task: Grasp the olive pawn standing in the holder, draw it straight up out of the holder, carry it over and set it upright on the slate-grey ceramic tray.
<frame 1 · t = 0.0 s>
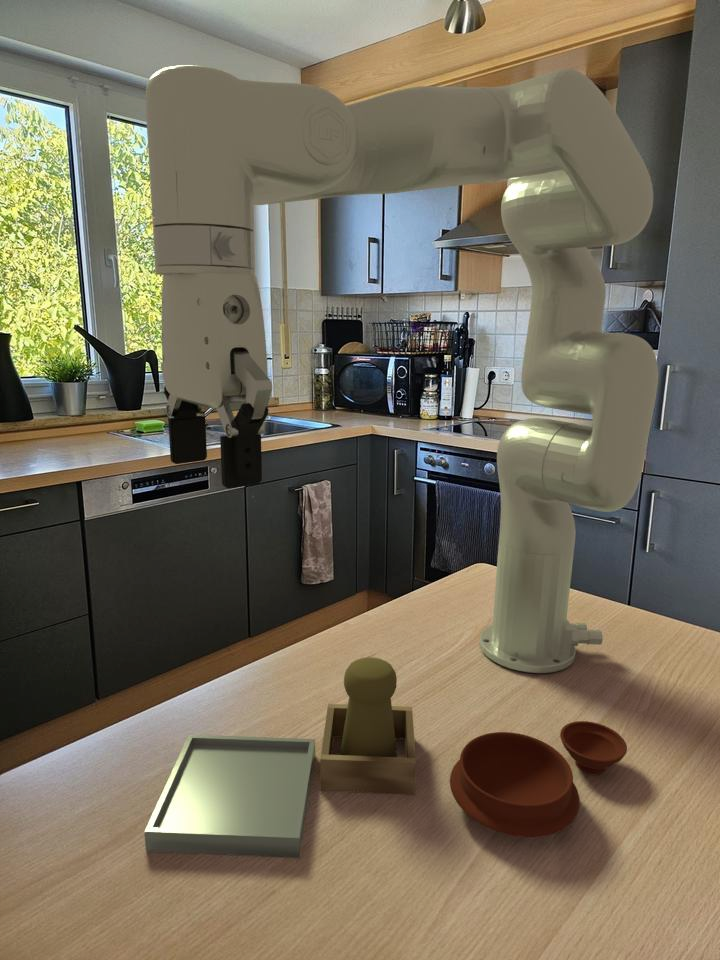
hand: (213, 472, 55), 31 cm above the table, tool pointing down, fingers open, 9 cm apart
holder: (368, 761, 67), on the table
pottery: (542, 791, 64), on the table
olive pawn: (368, 763, 67), resting in holder
tray: (238, 798, 62), on the table
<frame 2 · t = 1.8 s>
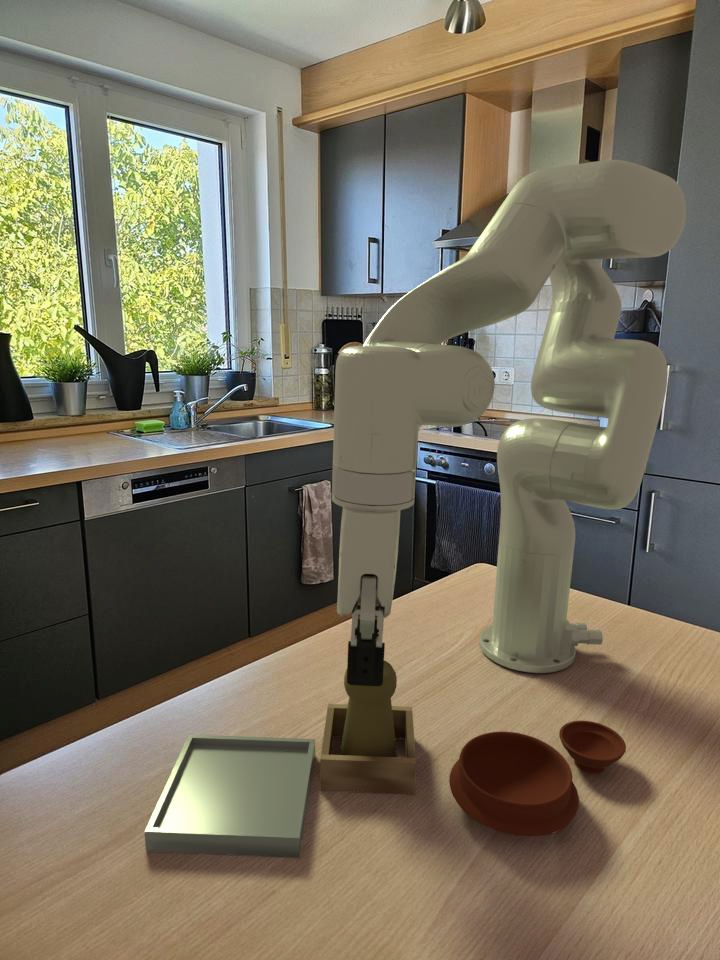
hand: (366, 657, 64), 12 cm above the table, tool pointing down, fingers open, 9 cm apart
nothing on the table moved.
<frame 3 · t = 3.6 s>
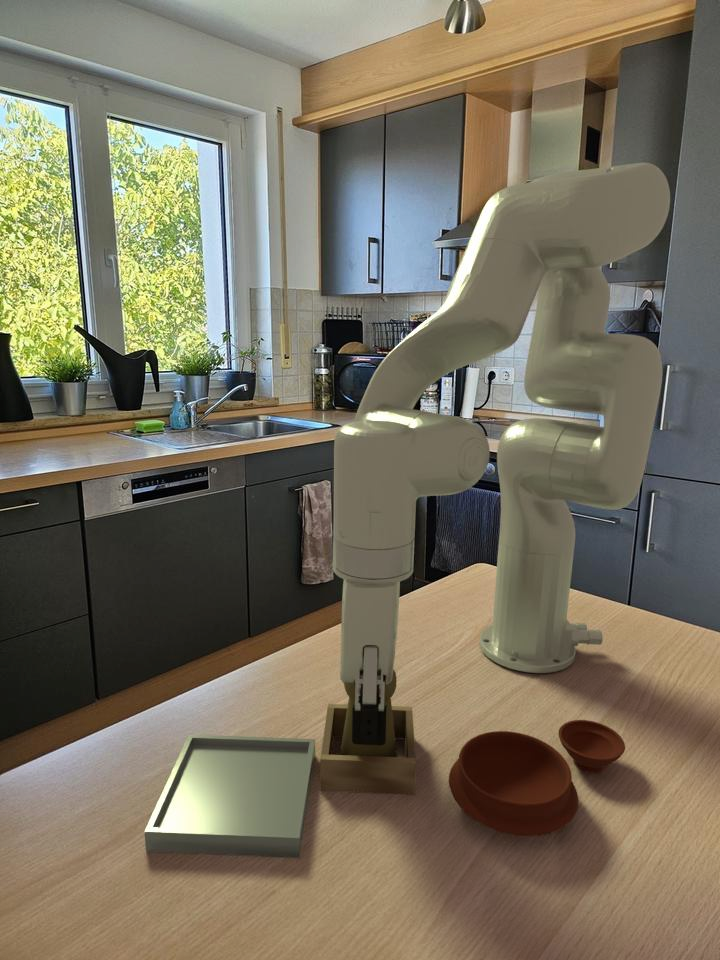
hand: (369, 723, 66), 4 cm above the table, tool pointing down, fingers closed on olive pawn, 4 cm apart
olive pawn: (368, 763, 67), resting in holder, touching gripper
everything else where it was.
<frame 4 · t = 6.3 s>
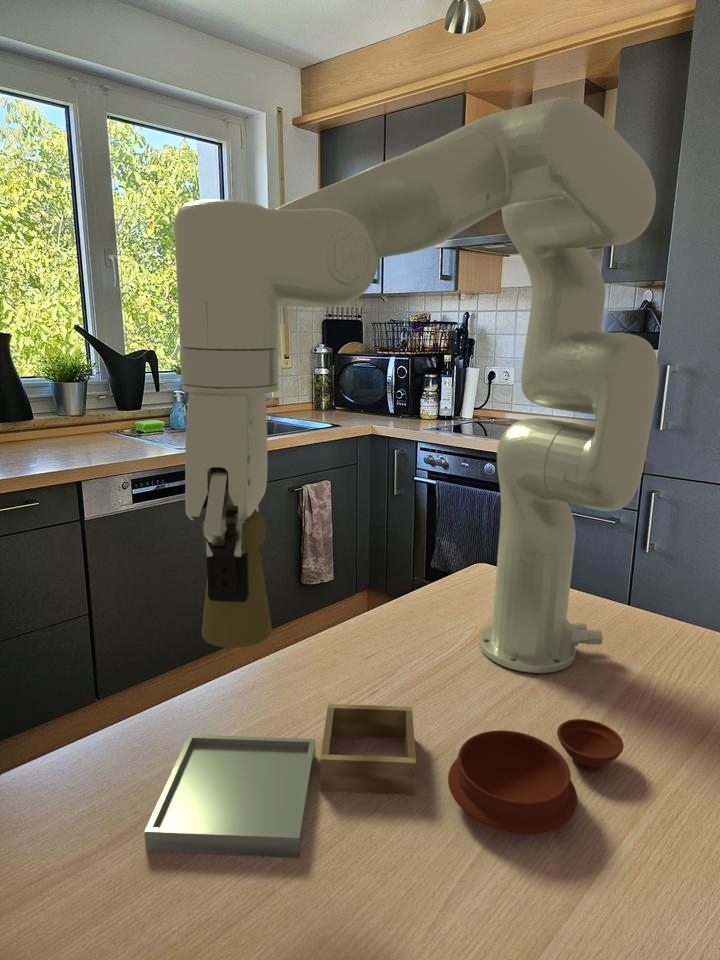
hand: (236, 583, 56), 22 cm above the table, tool pointing down, fingers closed on olive pawn, 4 cm apart
olive pawn: (237, 633, 58), point 17 cm above the table, touching gripper
everything else where it was.
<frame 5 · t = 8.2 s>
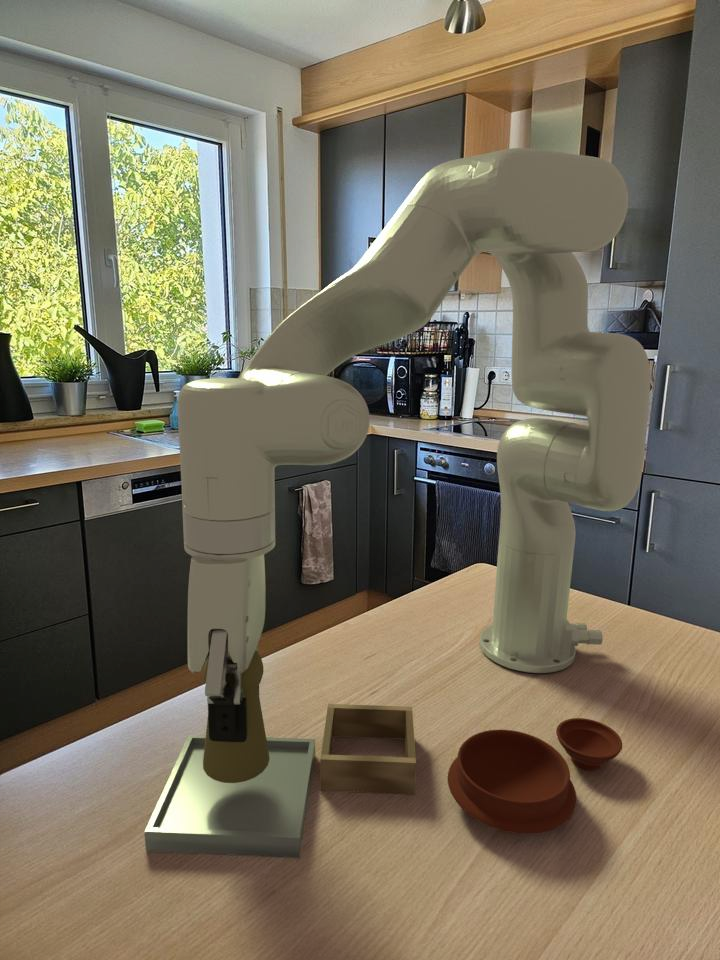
hand: (235, 718, 60), 9 cm above the table, tool pointing down, fingers closed on olive pawn, 4 cm apart
olive pawn: (236, 762, 61), point 4 cm above the table, touching gripper
everything else where it was.
when the fingers open (6 cm above the table, at t = 9.4 s): olive pawn stays where it is, resting on tray.
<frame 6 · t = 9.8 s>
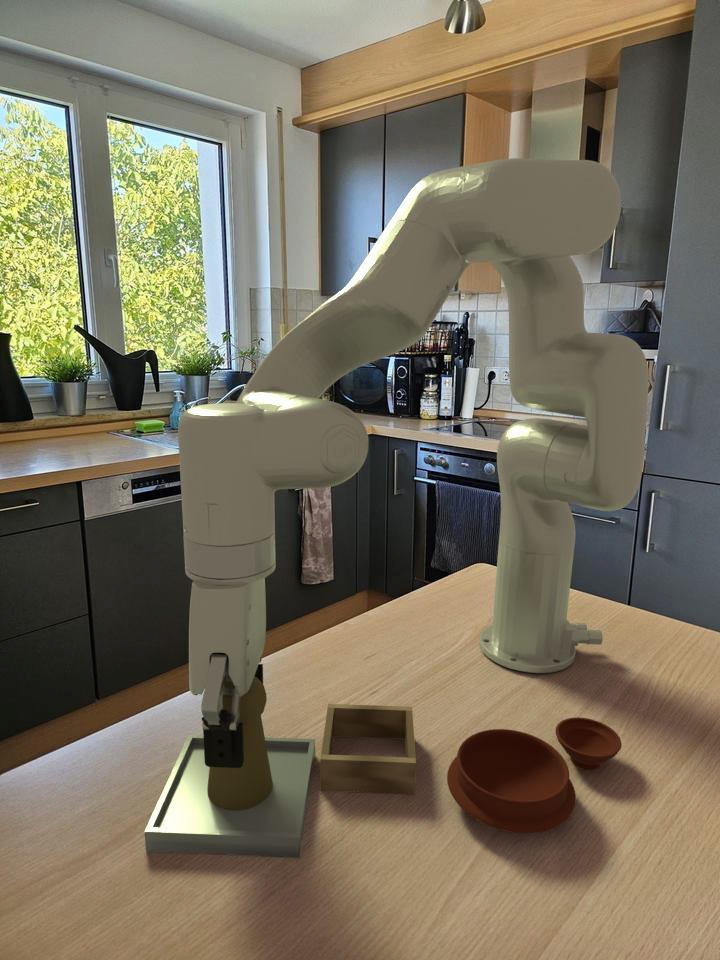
hand: (236, 730, 60), 7 cm above the table, tool pointing down, fingers open, 8 cm apart
olive pawn: (240, 788, 62), point 1 cm above the table, touching tray
everything else where it was.
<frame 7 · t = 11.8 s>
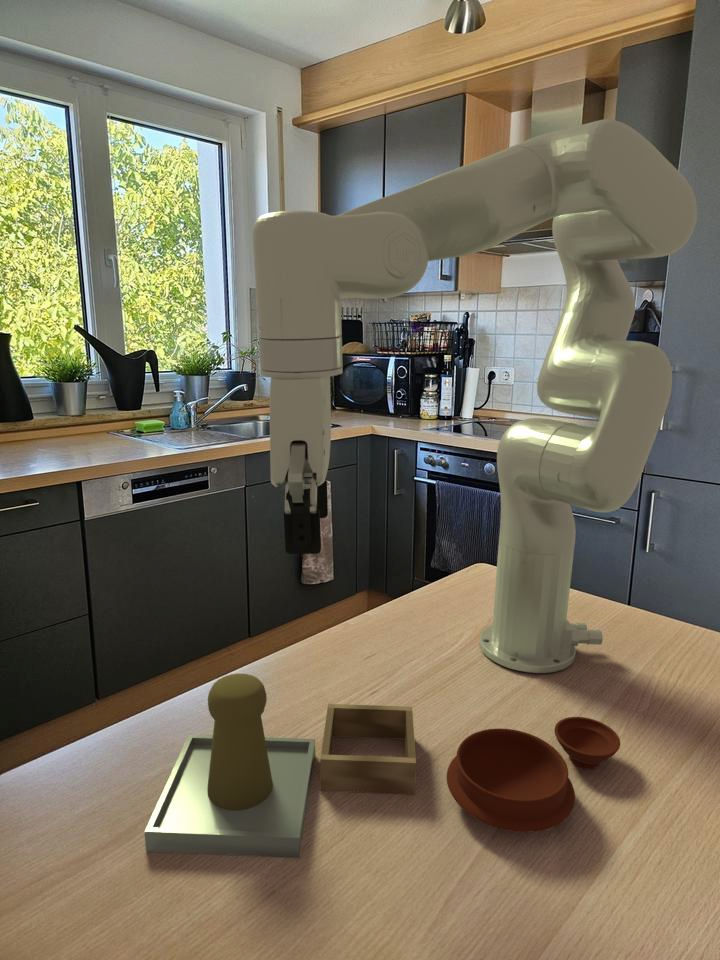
hand: (308, 533, 65), 23 cm above the table, tool pointing down, fingers open, 9 cm apart
nothing on the table moved.
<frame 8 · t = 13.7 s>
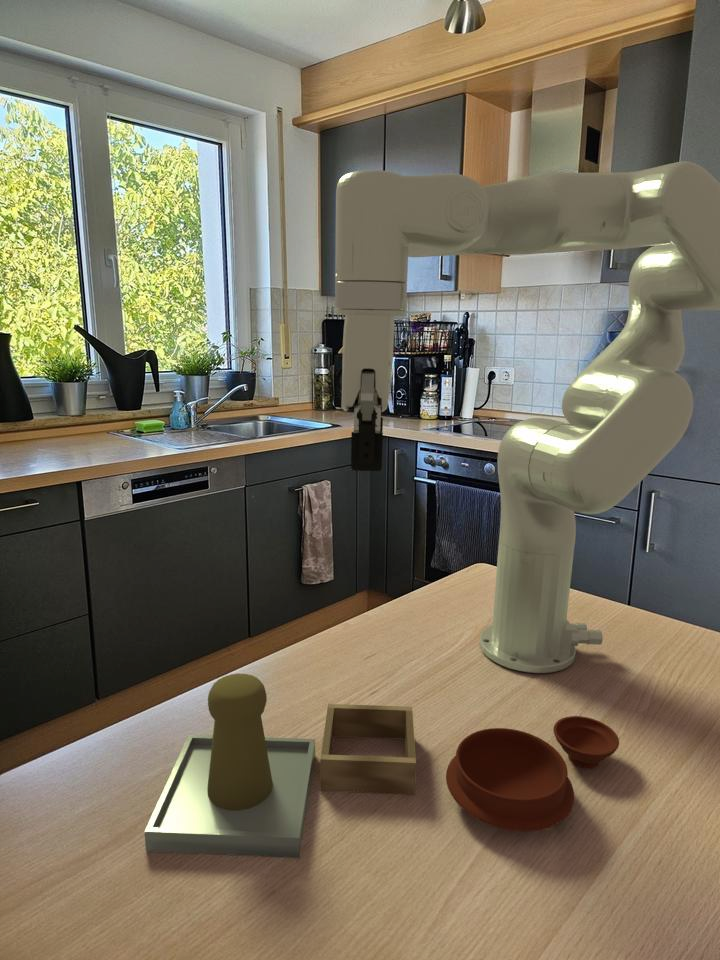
hand: (367, 459, 74), 28 cm above the table, tool pointing down, fingers open, 9 cm apart
nothing on the table moved.
at the end: olive pawn inside the target area on the tray (0.2 cm from its centre), point 1.0 cm above the tray's base; olive pawn tilted 0°; the gripper is holding nothing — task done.
